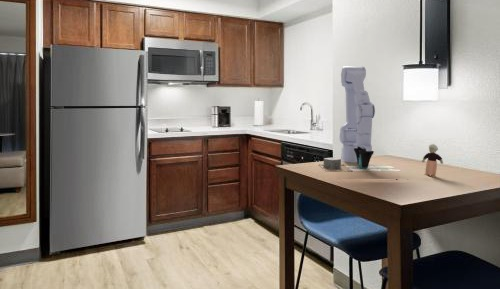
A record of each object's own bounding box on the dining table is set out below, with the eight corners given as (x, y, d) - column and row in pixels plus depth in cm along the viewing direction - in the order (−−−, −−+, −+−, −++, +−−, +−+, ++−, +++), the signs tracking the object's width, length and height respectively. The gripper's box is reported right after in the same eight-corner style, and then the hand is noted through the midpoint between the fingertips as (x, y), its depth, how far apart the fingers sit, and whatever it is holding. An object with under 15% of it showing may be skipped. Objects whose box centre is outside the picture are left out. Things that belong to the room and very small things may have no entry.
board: (318, 167, 168) (318, 164, 168) (389, 168, 169) (389, 164, 169) (325, 174, 154) (325, 170, 154) (402, 174, 155) (403, 171, 155)
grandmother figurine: (420, 176, 152) (422, 143, 151) (421, 174, 156) (423, 142, 154) (442, 178, 149) (444, 145, 147) (442, 176, 152) (444, 144, 150)
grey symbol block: (323, 170, 163) (323, 158, 163) (331, 169, 166) (332, 157, 165) (331, 172, 159) (332, 160, 158) (340, 171, 162) (341, 159, 161)
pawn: (357, 167, 163) (358, 151, 162) (365, 167, 163) (366, 151, 162) (359, 168, 160) (360, 152, 159) (368, 168, 160) (368, 152, 159)
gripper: (349, 131, 167) (348, 163, 168) (359, 135, 152) (358, 169, 154) (365, 132, 167) (364, 163, 169) (377, 135, 153) (375, 169, 154)
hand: (362, 166), depth 161 cm, fingers open, 5 cm apart
